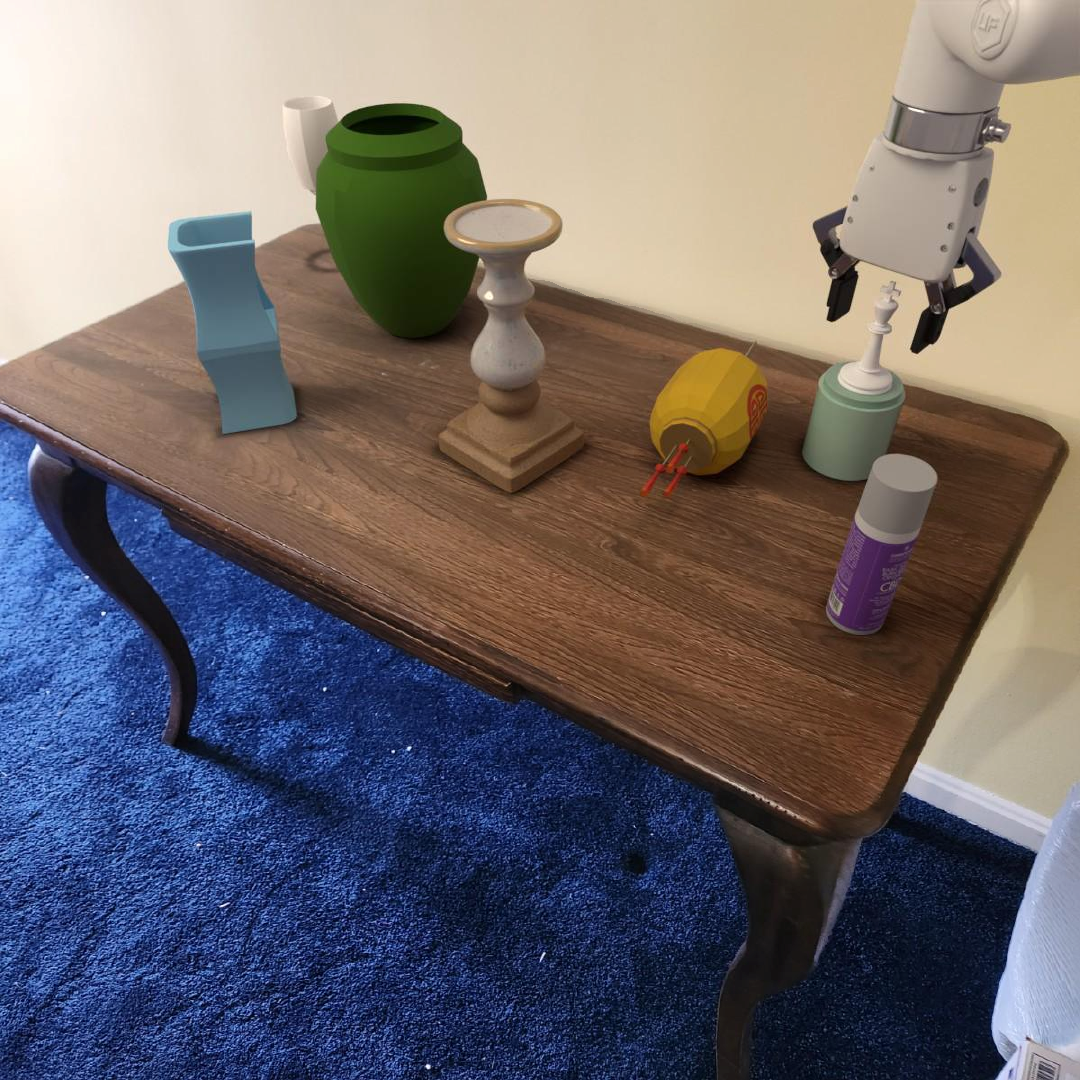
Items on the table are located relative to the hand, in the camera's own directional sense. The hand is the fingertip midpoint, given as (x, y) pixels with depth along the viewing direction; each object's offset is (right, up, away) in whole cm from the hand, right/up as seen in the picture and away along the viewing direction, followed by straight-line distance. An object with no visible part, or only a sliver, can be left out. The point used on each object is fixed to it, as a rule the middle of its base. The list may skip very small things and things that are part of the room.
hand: (878, 330), depth 78 cm
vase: (-46, +8, +31) cm, 56 cm away
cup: (-60, +21, +45) cm, 78 cm away
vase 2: (-62, -5, +17) cm, 64 cm away
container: (-5, -25, -6) cm, 27 cm away
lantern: (-14, -10, +11) cm, 20 cm away
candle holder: (-34, -10, +11) cm, 37 cm away
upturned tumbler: (0, -11, +10) cm, 14 cm away
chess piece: (0, -4, +4) cm, 5 cm away
